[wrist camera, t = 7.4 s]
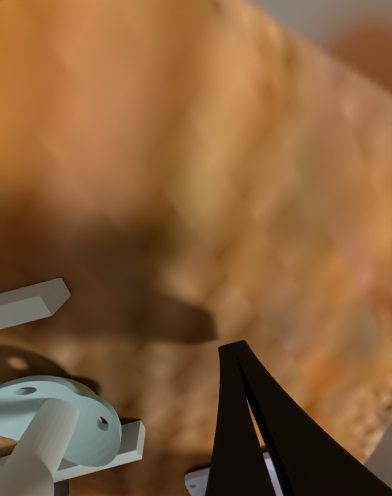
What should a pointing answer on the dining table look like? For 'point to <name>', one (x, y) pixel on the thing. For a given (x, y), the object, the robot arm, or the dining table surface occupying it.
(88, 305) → the dining table surface
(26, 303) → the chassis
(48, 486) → the pacifier
